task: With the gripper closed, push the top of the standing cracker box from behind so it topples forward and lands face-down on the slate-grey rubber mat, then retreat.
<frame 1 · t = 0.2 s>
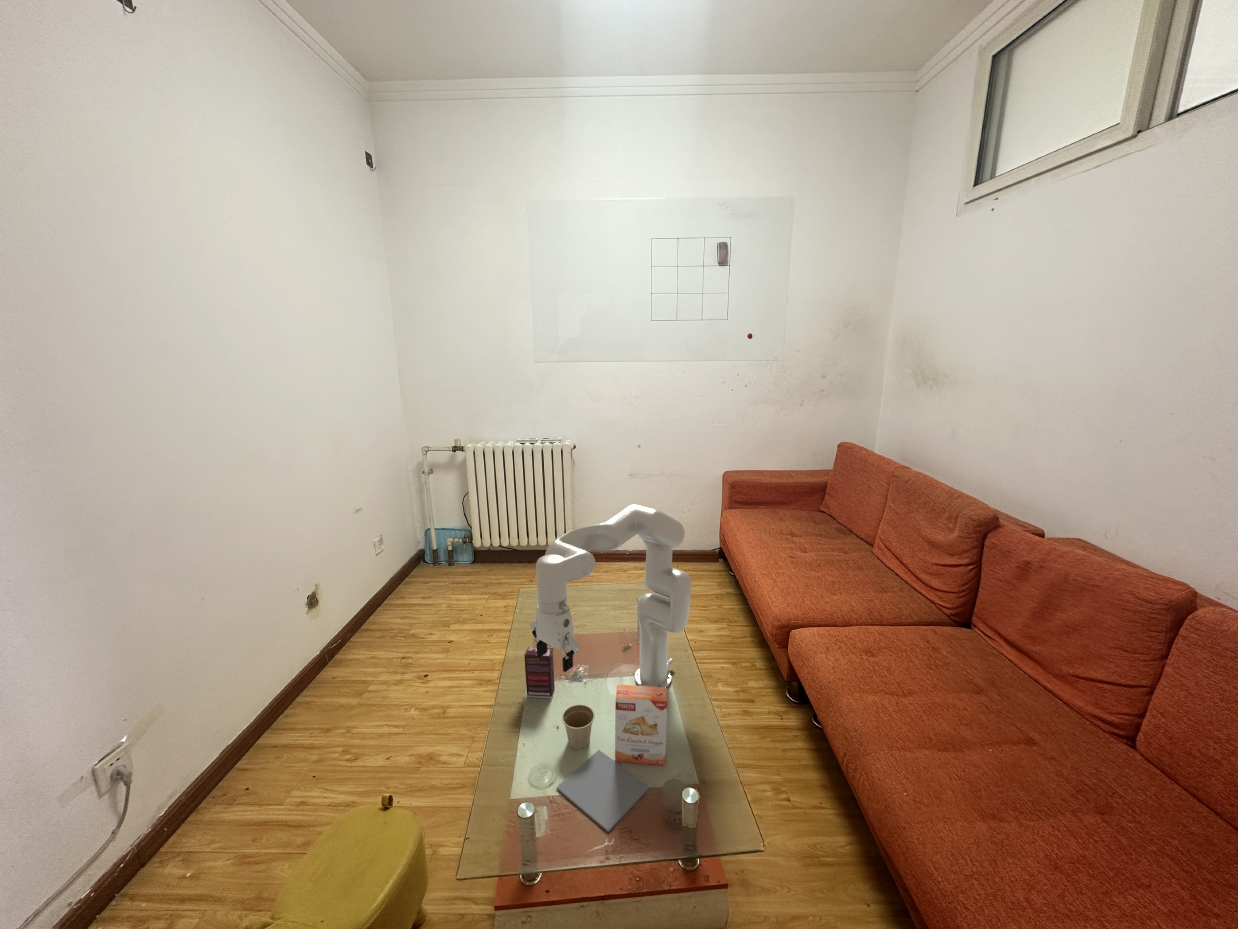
hand: (554, 661, 129), 31 cm above the table, fingers open, 9 cm apart
cracker box: (640, 757, 137), on the table
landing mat: (603, 788, 127), on the table
supplement box: (540, 694, 162), on the table
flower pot: (578, 741, 142), on the table
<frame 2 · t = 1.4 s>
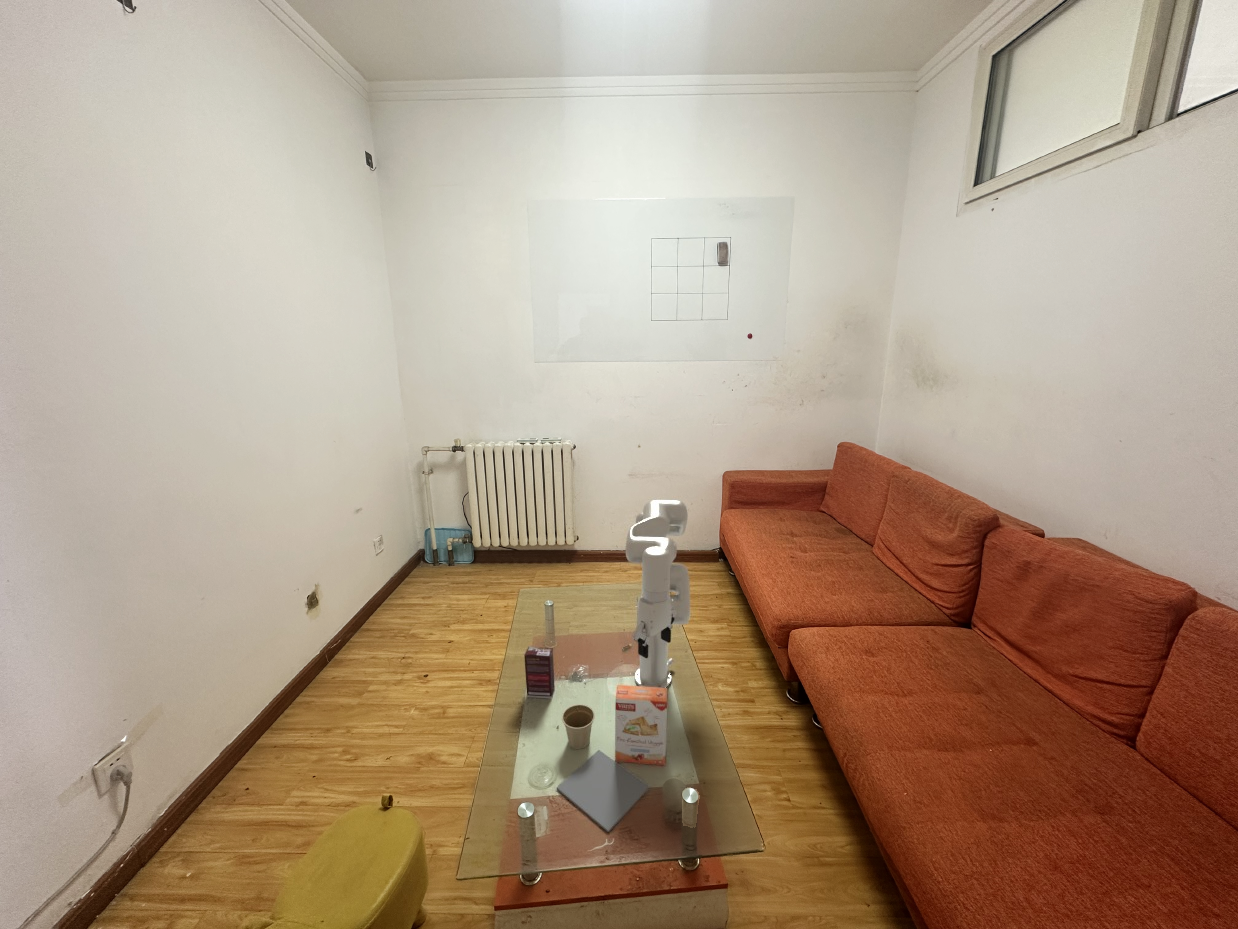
hand: (654, 648, 136), 30 cm above the table, fingers open, 9 cm apart
nothing on the table moved.
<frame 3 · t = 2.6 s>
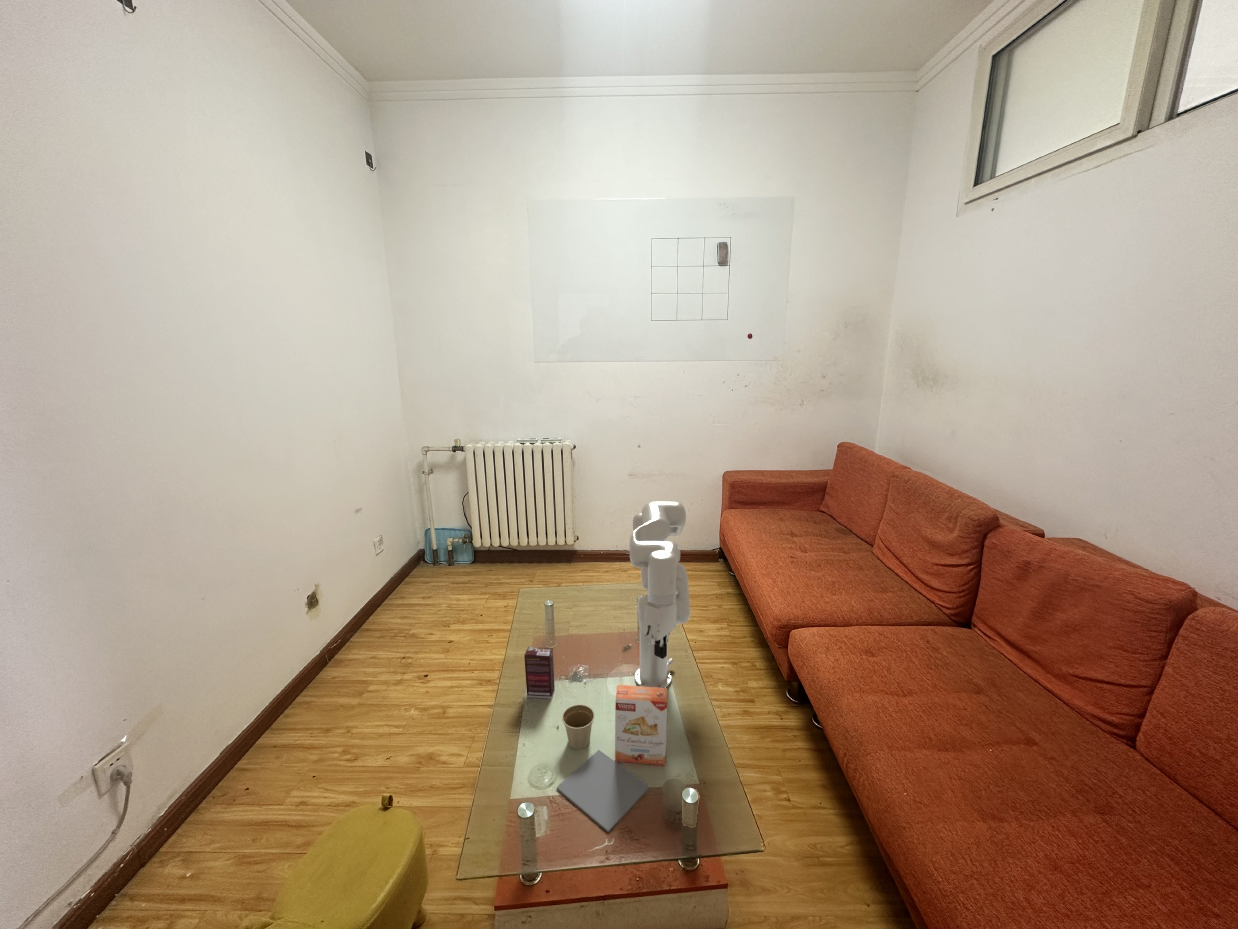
hand: (660, 655, 137), 28 cm above the table, fingers closed
nothing on the table moved.
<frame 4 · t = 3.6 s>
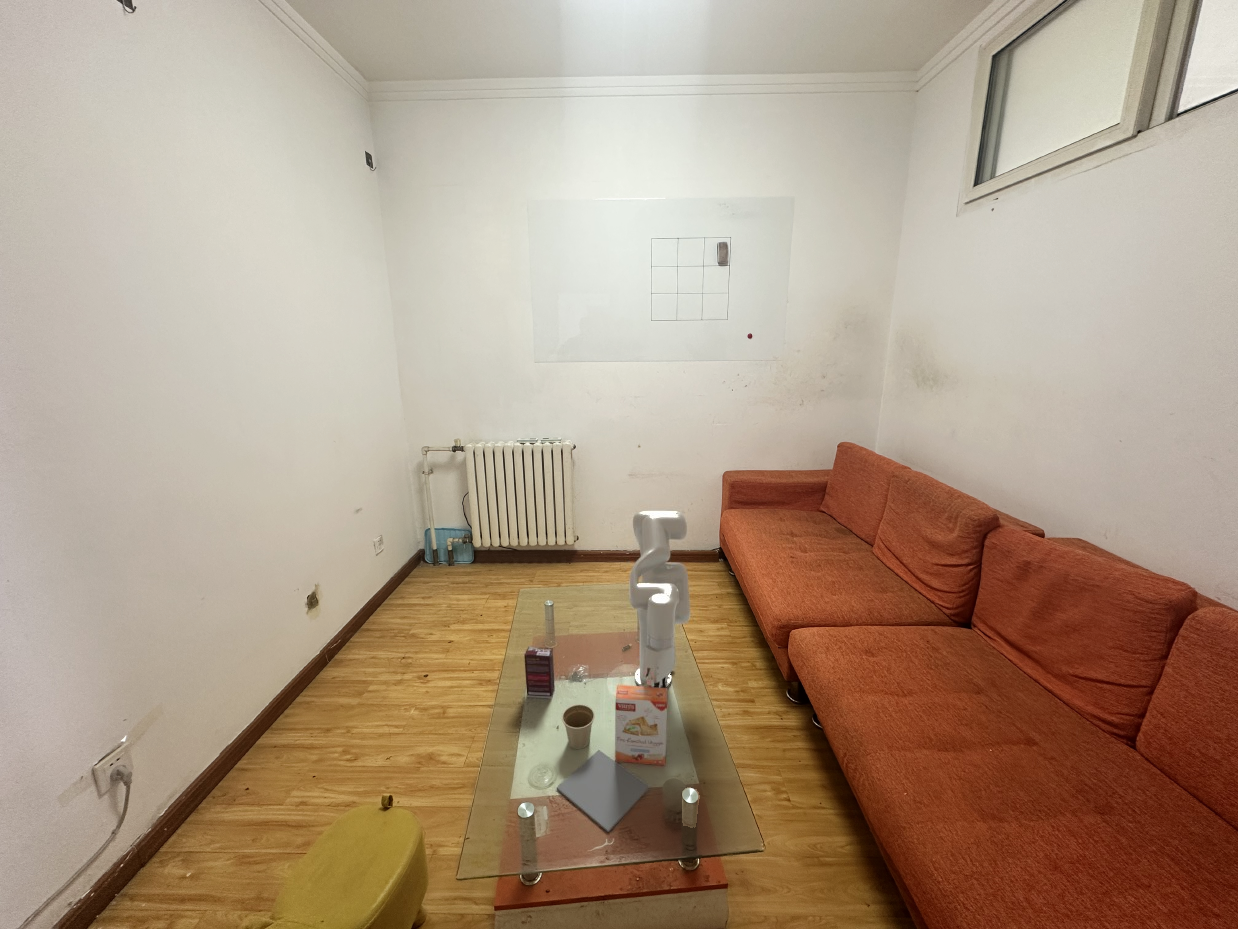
hand: (659, 696, 139), 15 cm above the table, fingers closed
nothing on the table moved.
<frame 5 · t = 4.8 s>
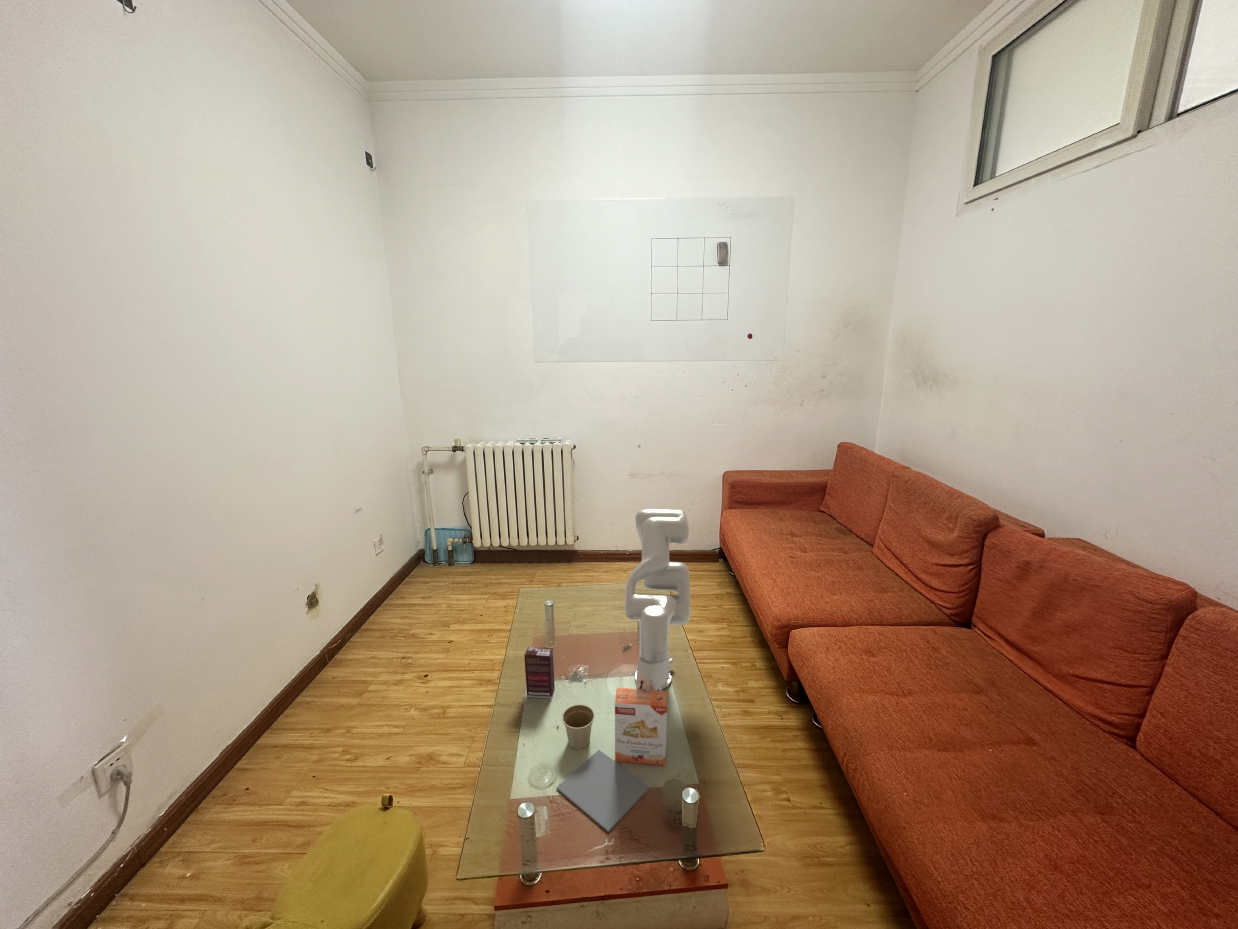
hand: (653, 708, 138), 12 cm above the table, fingers closed
cracker box: (640, 756, 137), on the table, touching gripper
everything else where it was.
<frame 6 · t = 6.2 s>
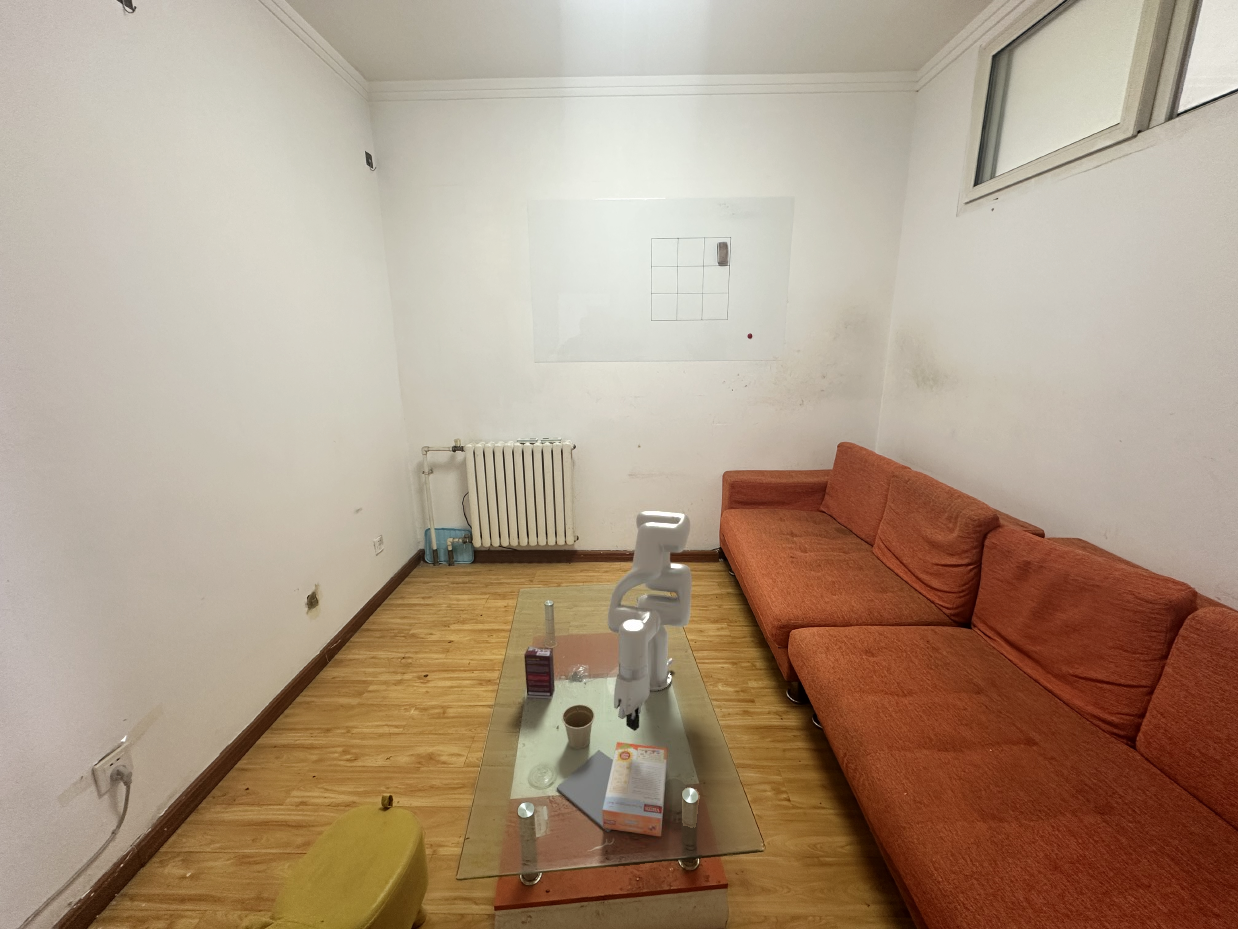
hand: (632, 726, 131), 12 cm above the table, fingers closed
cracker box: (642, 752, 134), point 3 cm above the table, touching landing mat
everything else where it was.
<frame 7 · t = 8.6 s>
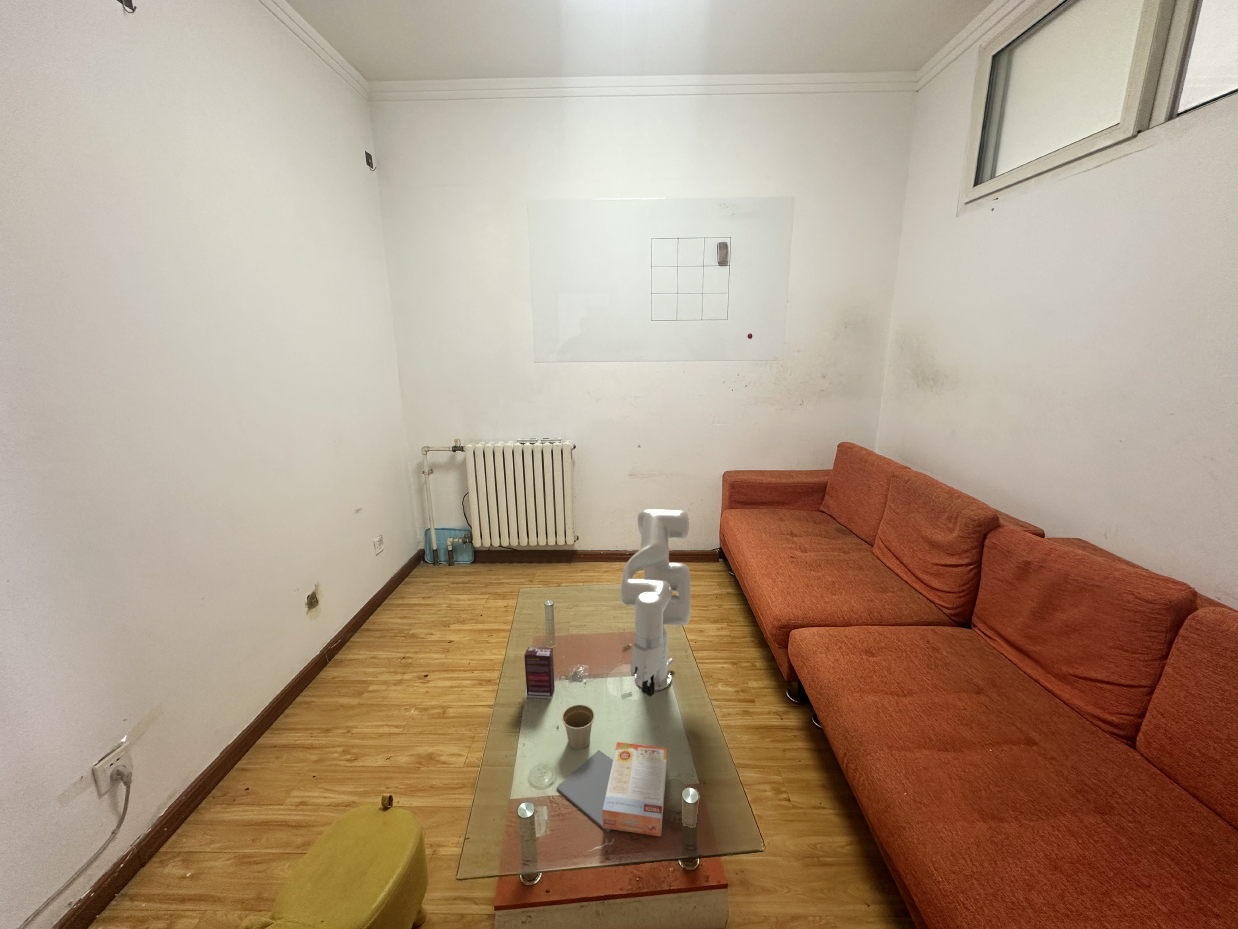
hand: (648, 693, 138), 17 cm above the table, fingers closed
nothing on the table moved.
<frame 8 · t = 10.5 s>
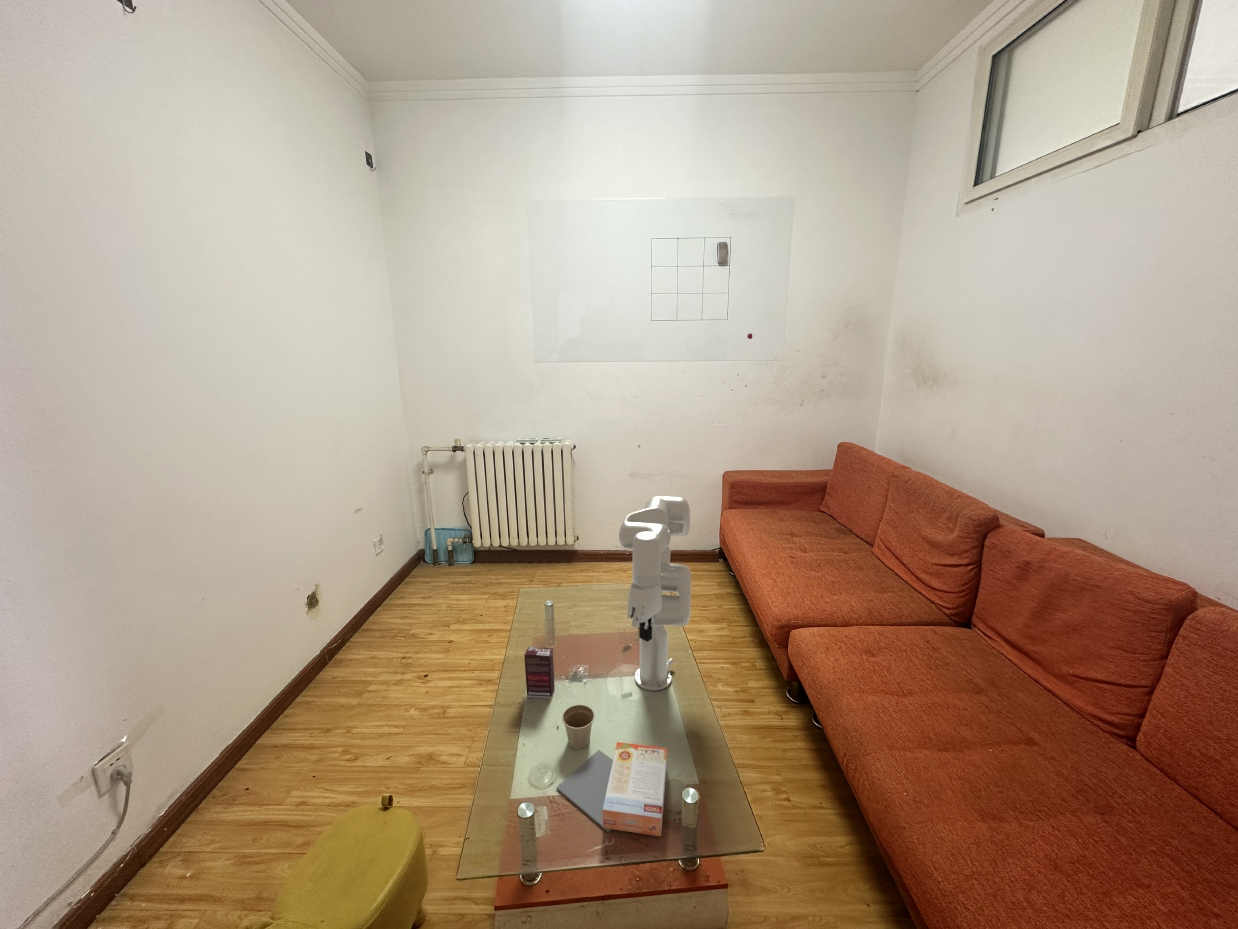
hand: (645, 638, 135), 33 cm above the table, fingers closed
nothing on the table moved.
at the end: cracker box tilted 89°; cracker box inside the target area (15.0 cm from its centre), point 3.4 cm above the table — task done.
